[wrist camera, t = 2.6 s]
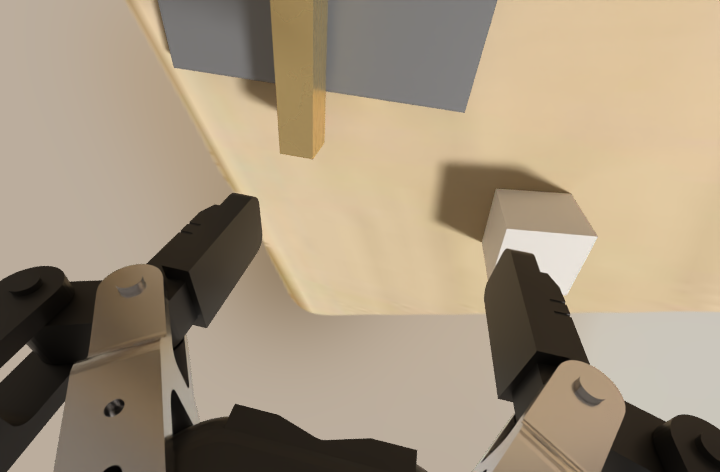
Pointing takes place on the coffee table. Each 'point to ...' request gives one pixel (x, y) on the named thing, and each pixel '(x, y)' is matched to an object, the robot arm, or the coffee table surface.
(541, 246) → the beige cube
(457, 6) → the grey base plate
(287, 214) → the coffee table surface
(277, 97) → the tan handled round piece
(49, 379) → the robot arm
